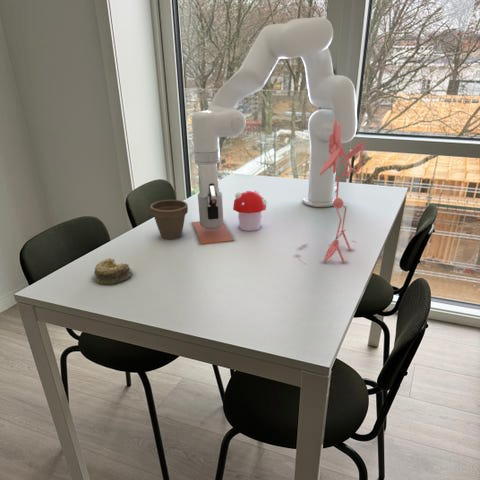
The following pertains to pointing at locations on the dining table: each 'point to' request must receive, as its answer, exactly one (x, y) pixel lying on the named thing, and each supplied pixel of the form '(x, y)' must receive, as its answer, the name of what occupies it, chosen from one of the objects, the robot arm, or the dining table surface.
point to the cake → (111, 272)
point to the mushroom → (249, 209)
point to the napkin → (212, 234)
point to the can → (204, 212)
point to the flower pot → (169, 217)
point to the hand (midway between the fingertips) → (211, 214)
